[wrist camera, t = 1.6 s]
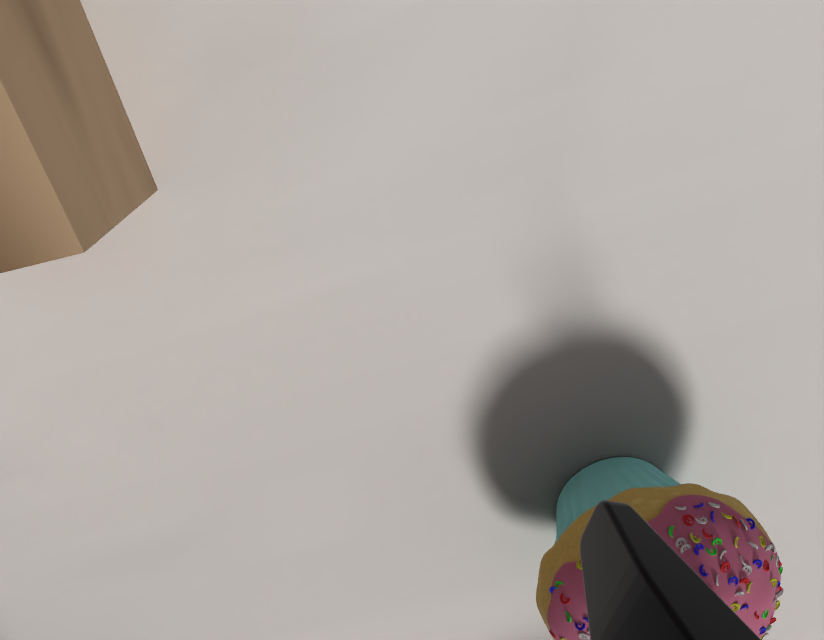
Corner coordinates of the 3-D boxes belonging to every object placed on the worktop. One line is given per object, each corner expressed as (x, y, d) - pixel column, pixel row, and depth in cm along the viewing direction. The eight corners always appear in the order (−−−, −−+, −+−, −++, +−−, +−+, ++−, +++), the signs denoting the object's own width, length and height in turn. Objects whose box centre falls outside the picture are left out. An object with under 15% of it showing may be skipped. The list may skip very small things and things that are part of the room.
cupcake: (594, 386, 24) (790, 685, 13) (752, 465, 26) (1028, 774, 16) (474, 539, 27) (554, 888, 16) (626, 598, 29) (786, 937, 18)
